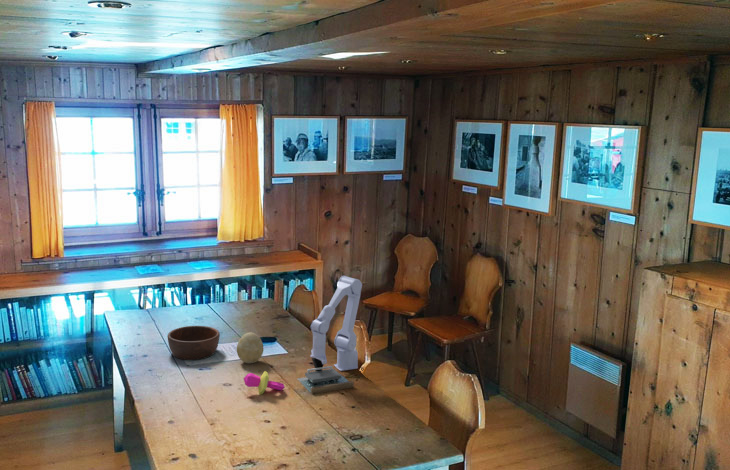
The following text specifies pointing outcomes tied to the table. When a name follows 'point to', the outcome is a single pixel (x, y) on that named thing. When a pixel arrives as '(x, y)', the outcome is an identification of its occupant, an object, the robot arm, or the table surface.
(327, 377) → the cabinet door with handle
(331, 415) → the table surface
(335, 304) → the robot arm
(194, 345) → the wooden bowl
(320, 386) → the dock bay
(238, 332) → the table surface
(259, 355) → the fossilized egg
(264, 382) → the toy
